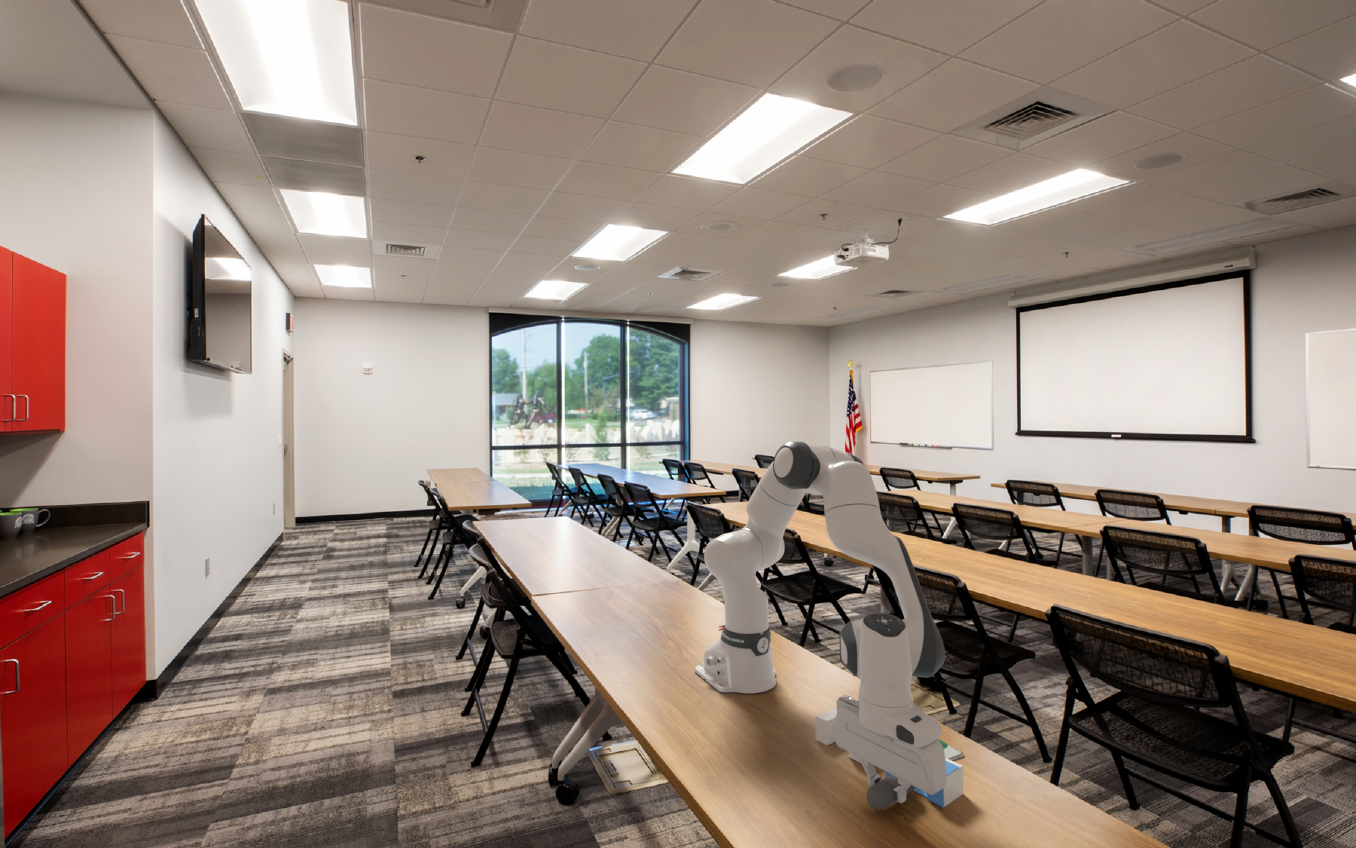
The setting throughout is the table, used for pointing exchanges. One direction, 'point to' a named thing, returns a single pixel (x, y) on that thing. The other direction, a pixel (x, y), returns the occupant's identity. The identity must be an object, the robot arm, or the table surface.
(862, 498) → the robot arm
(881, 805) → the gray pill-shaped peg
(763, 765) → the table surface
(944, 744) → the smartphone
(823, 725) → the white slotted rack
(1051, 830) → the table surface
